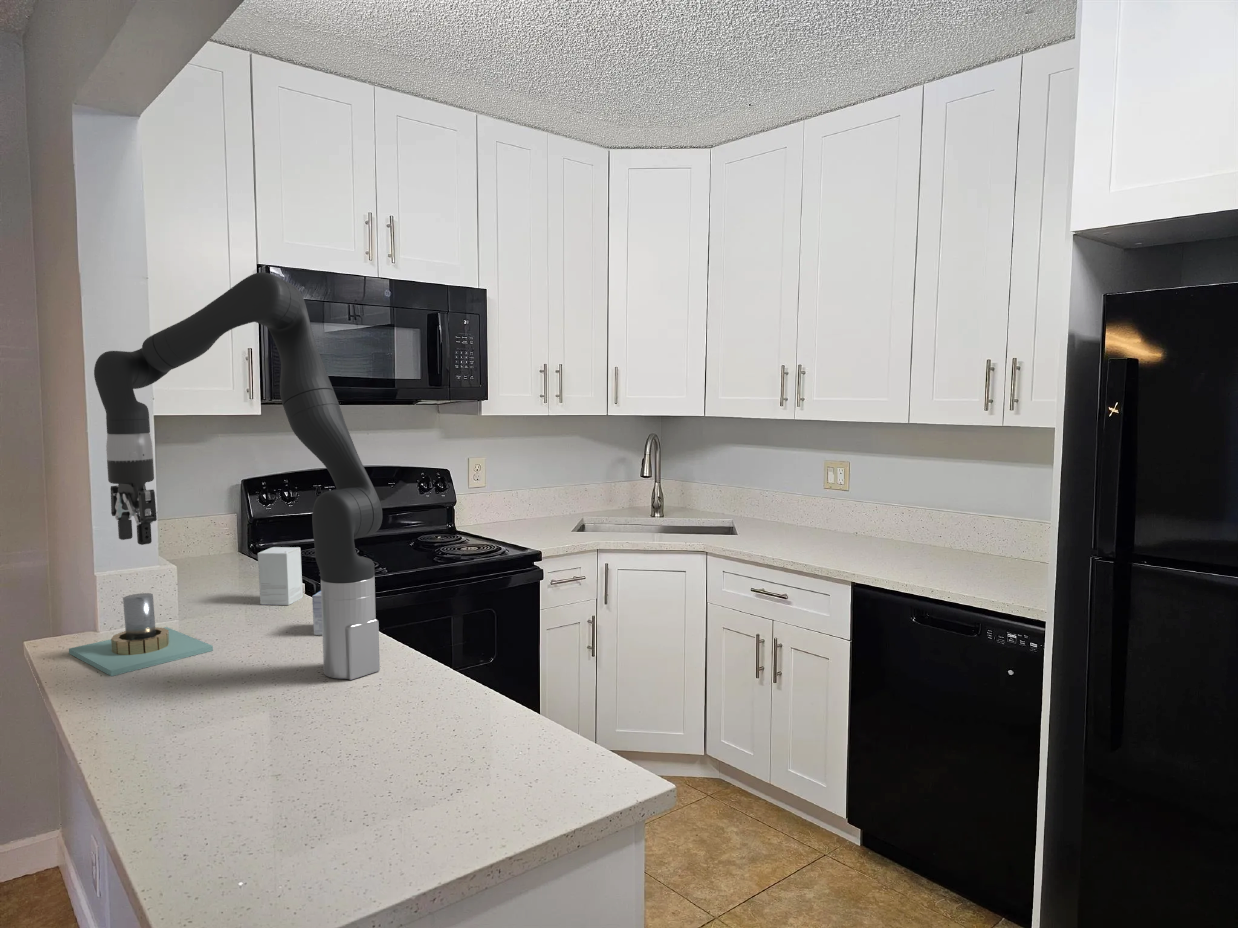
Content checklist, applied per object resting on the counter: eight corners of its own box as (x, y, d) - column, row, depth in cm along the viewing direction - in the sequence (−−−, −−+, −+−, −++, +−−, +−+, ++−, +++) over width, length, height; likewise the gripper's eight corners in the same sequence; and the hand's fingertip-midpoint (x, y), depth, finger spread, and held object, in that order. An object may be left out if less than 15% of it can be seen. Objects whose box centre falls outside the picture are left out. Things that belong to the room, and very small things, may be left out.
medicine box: (334, 635, 169) (333, 594, 168) (313, 635, 169) (311, 594, 168) (347, 624, 177) (346, 585, 176) (327, 624, 177) (326, 585, 176)
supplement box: (303, 597, 199) (302, 546, 198) (288, 605, 192) (286, 552, 191) (275, 596, 200) (273, 546, 199) (258, 604, 193) (256, 552, 192)
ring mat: (212, 650, 159) (212, 645, 159) (111, 676, 145) (110, 670, 145) (166, 631, 172) (166, 626, 172) (69, 653, 158) (68, 648, 157)
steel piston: (161, 645, 159) (157, 595, 158) (133, 652, 155) (129, 600, 154) (150, 641, 162) (146, 591, 161) (122, 647, 158) (118, 597, 157)
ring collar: (177, 645, 159) (176, 633, 159) (124, 658, 152) (124, 645, 152) (156, 636, 165) (155, 624, 165) (104, 648, 158) (103, 635, 157)
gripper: (167, 457, 153) (172, 542, 155) (135, 454, 162) (140, 534, 164) (124, 460, 148) (129, 549, 149) (93, 456, 156) (98, 540, 158)
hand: (135, 541), depth 156 cm, fingers open, 8 cm apart
